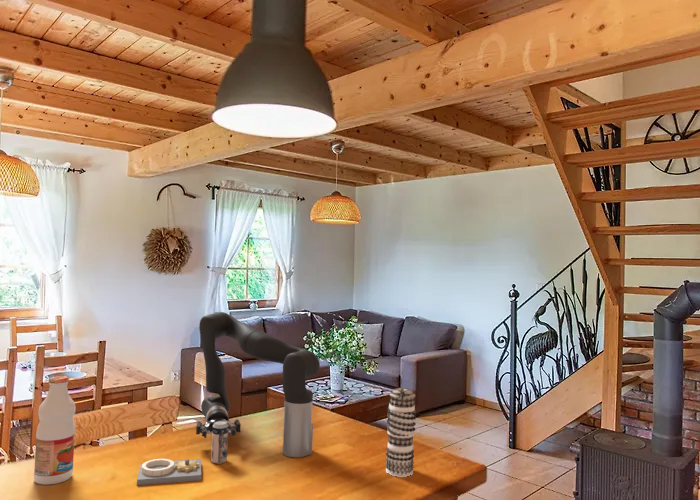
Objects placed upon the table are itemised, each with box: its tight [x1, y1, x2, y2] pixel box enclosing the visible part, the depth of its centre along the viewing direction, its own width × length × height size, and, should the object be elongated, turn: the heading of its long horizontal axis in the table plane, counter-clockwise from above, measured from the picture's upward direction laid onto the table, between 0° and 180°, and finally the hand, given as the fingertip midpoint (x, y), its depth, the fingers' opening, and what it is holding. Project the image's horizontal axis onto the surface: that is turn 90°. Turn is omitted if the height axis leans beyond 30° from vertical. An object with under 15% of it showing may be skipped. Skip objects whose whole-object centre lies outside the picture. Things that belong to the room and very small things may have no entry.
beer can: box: [210, 421, 229, 465], centre depth 162 cm, size 5×5×12 cm
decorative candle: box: [385, 387, 418, 478], centre depth 160 cm, size 9×9×25 cm
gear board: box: [136, 458, 202, 486], centre depth 151 cm, size 17×12×4 cm
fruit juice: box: [33, 375, 76, 486], centre depth 145 cm, size 9×9×28 cm
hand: (219, 434), depth 167 cm, fingers open, 8 cm apart
